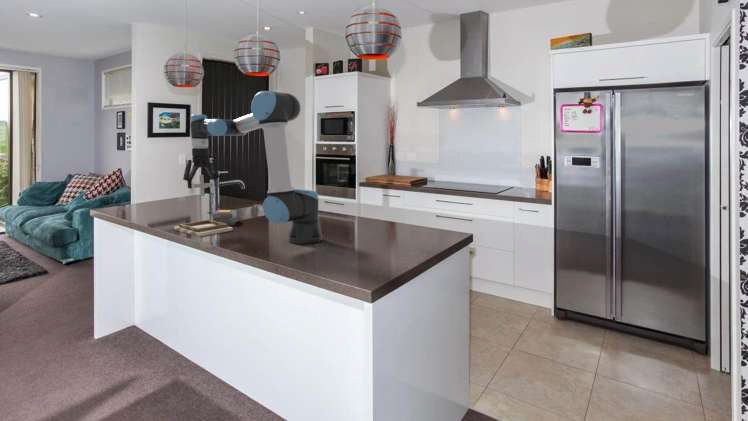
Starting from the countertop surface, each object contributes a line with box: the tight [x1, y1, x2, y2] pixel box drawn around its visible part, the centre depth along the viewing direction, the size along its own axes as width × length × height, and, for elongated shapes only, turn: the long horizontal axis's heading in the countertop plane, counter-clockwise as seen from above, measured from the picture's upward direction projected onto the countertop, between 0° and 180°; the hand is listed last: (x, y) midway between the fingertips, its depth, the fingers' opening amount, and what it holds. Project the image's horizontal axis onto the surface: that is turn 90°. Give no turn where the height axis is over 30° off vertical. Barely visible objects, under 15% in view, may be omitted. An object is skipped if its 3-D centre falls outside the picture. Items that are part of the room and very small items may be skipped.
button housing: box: [212, 209, 239, 226], centre depth 236 cm, size 11×11×6 cm
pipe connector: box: [194, 174, 213, 197], centre depth 215 cm, size 10×10×10 cm
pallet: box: [173, 219, 234, 238], centre depth 218 cm, size 22×18×3 cm
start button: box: [217, 209, 233, 213], centre depth 236 cm, size 6×6×3 cm
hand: (202, 194), depth 215 cm, fingers closed on pipe connector, 10 cm apart
